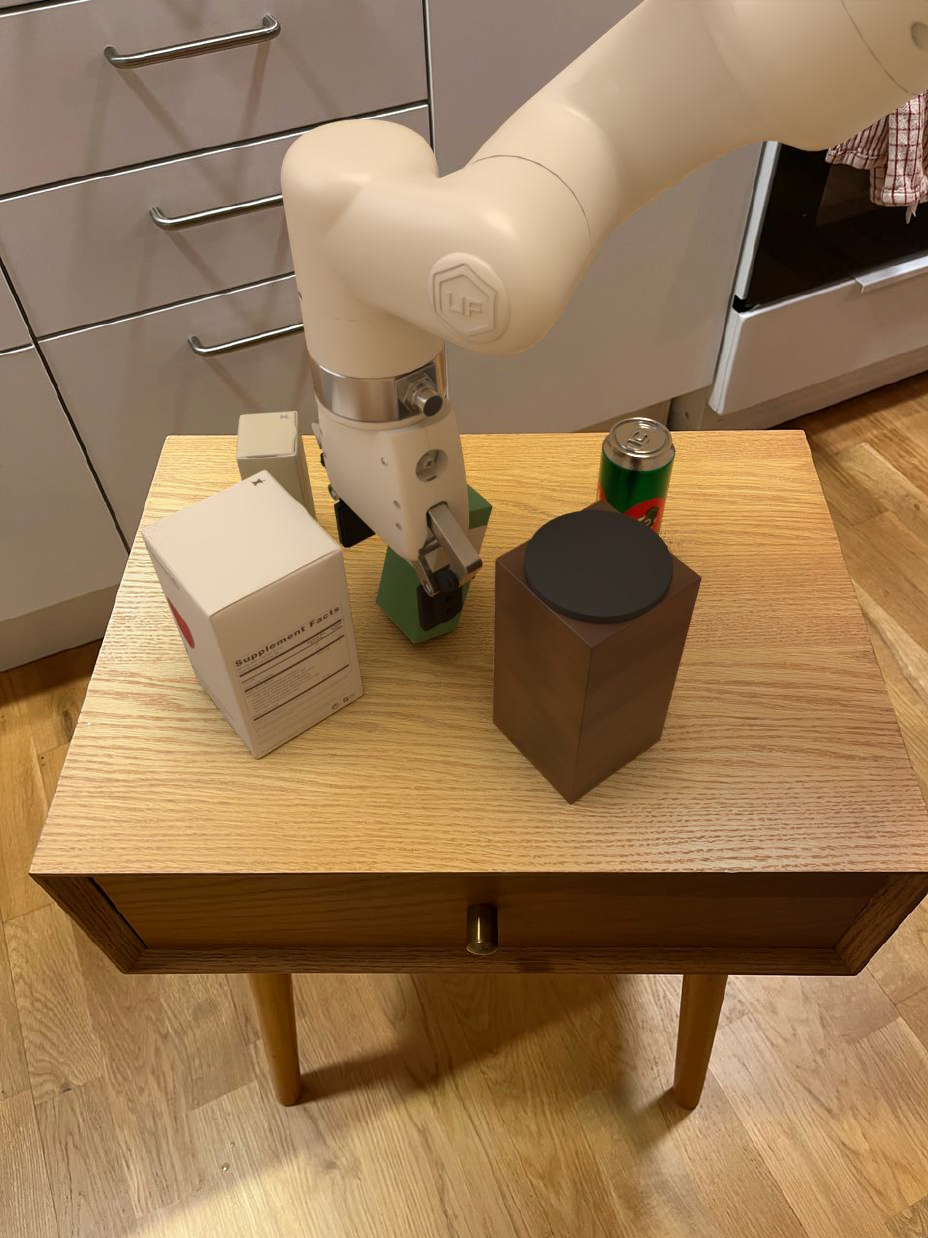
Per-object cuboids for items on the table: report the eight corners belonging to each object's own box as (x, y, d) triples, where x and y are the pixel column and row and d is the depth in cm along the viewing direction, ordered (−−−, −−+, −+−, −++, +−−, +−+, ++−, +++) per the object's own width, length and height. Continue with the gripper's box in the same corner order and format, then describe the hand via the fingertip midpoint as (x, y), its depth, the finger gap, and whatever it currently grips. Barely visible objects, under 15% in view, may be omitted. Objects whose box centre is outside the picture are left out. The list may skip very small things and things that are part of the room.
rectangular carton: (191, 677, 68) (133, 525, 57) (300, 618, 72) (266, 463, 60) (255, 764, 63) (205, 617, 52) (368, 696, 67) (345, 544, 55)
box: (265, 520, 78) (239, 410, 70) (318, 517, 79) (298, 406, 70) (262, 567, 75) (234, 457, 67) (317, 563, 75) (296, 453, 67)
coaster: (702, 577, 52) (704, 569, 51) (592, 648, 49) (593, 640, 48) (602, 497, 56) (603, 490, 56) (494, 558, 53) (494, 551, 53)
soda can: (664, 550, 75) (689, 428, 66) (636, 591, 73) (658, 469, 64) (606, 526, 77) (623, 404, 68) (577, 565, 75) (590, 444, 65)
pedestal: (660, 740, 64) (702, 577, 52) (570, 805, 61) (592, 648, 49) (580, 665, 68) (602, 497, 56) (492, 722, 65) (494, 558, 53)
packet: (448, 466, 66) (401, 476, 64) (493, 505, 64) (446, 517, 61) (417, 589, 73) (374, 602, 71) (457, 630, 71) (413, 644, 68)
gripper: (530, 417, 50) (520, 627, 63) (351, 280, 59) (375, 488, 72) (413, 476, 47) (428, 683, 61) (244, 323, 57) (289, 531, 70)
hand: (399, 577), depth 66 cm, fingers open, 9 cm apart
